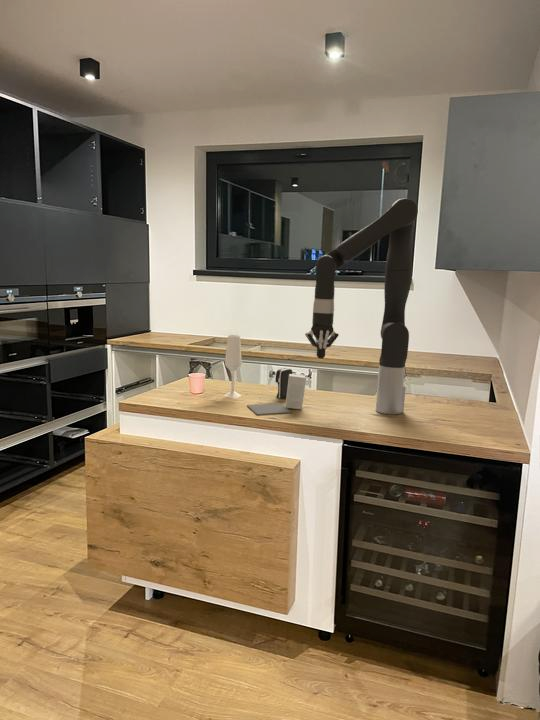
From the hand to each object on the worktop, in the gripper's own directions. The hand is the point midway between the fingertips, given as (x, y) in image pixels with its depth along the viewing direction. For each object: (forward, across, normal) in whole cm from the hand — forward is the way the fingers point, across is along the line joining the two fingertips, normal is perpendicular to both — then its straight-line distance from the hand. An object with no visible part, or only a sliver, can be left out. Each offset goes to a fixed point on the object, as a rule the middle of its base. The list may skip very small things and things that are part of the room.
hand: (320, 358), depth 193 cm
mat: (+18, +19, 0) cm, 27 cm away
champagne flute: (+19, +27, -22) cm, 39 cm away
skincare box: (+18, +10, 0) cm, 21 cm away
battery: (+19, +8, -16) cm, 26 cm away
